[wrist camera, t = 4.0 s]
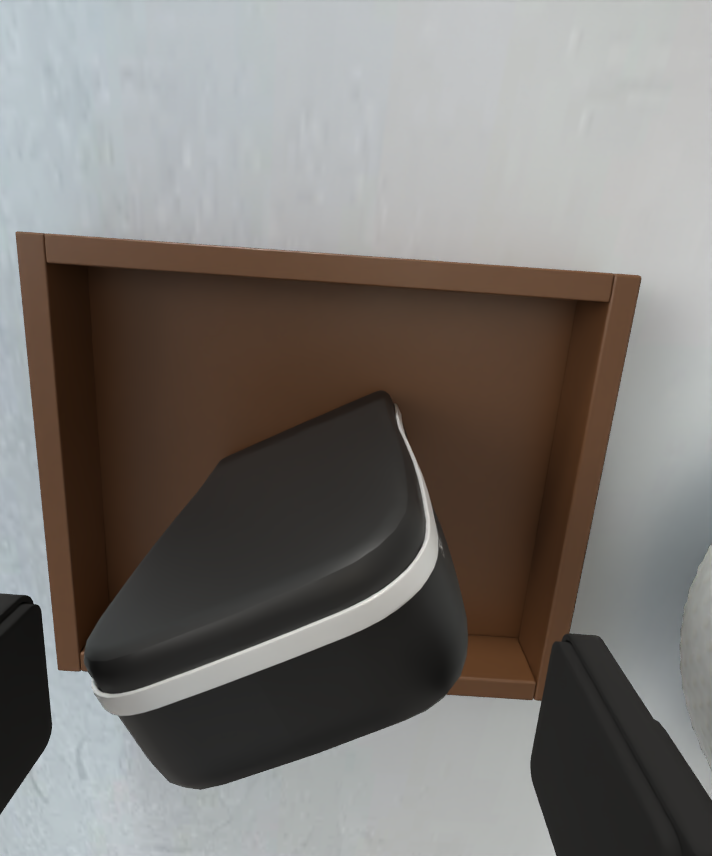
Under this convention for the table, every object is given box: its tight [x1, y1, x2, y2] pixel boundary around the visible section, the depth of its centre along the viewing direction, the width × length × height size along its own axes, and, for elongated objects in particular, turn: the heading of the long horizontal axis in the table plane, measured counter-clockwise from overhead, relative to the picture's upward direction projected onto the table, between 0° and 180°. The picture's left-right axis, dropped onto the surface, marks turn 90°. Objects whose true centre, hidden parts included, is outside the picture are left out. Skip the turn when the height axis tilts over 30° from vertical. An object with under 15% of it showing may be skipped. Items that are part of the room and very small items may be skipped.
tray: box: [16, 232, 641, 701], centre depth 19 cm, size 18×15×3 cm
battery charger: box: [84, 390, 468, 790], centre depth 14 cm, size 7×4×11 cm, turn 114°
